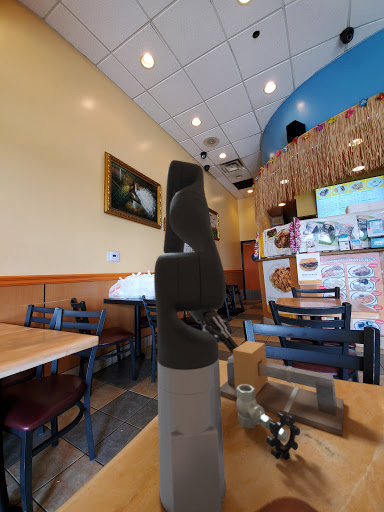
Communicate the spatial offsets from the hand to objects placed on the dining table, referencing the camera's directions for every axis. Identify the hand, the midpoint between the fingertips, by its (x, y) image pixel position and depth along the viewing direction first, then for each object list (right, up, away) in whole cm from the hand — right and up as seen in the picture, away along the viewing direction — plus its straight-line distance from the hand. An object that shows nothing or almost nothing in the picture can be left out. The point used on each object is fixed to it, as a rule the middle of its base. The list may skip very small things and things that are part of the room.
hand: (236, 351), depth 57 cm
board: (+8, -8, -7) cm, 14 cm away
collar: (+3, -7, -3) cm, 9 cm away
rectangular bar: (+8, -8, -7) cm, 14 cm away
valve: (+1, -7, -19) cm, 20 cm away
